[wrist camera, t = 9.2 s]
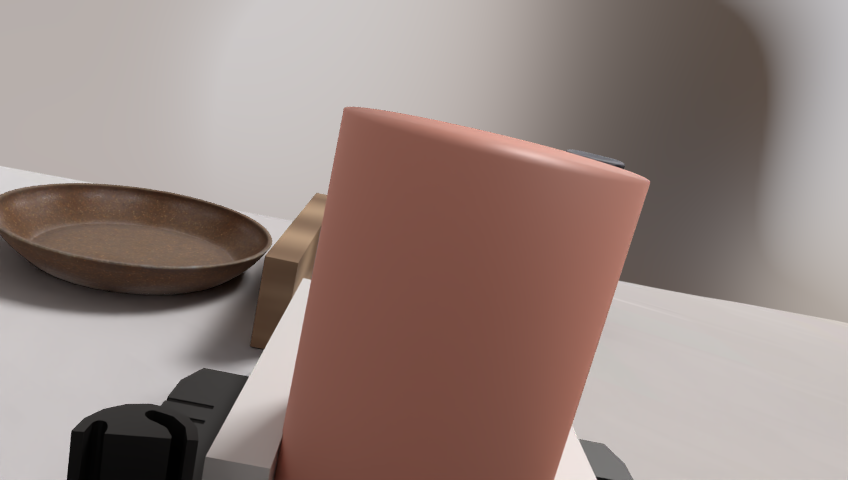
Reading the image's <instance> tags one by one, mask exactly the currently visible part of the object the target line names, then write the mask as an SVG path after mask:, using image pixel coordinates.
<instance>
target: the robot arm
mask: <svg viewBox="0 0 848 480" xmlns="http://www.w3.org/2000/svg"><path fill="white" fill-rule="evenodd" d="M310 284H311V280H310V279H305V278H303V280H302V281H301V283H300V285H299V287H298V289H297V290H296V292H295V294H294V296H293V298H292V300H291V301H290V303H289V305H288V307H287V309H286V311H285V312H284V314H283V316H282V318H281V320H280V321H279V323H278V325H277V327H276V329H275V331H274V332H273V334H272V336H271V338H270V340H269V342H268V343H267V345H266V347H265V349H264V351H263V353H262V354H261V356H260V358H259V360H258V362H257V363H256V365H255V367H254V369H253V371H252V373H251V374H250V376H249V377H247V376H242V375H237V374H232V373H227V372H222V371H217V370H211V369H206V368H203V369H201V370H199V371H197V372H195V373H193V374H191V375H190V376H188V377H186V378H184V379H182V380H180V382H179V383H178V384H177V386H176V387H175V388H174V389H173V391H172V392H171V393H170V395H169V396H168V398H167V401H164V403H163V404H162V405H161V406H158V405H153V404H125V405H120V406H116V407H111V408H106V409H103V410H101V411H98V412H96V413H94V414H92V415H90V416H88V417H86V418H84V419H83V420H82V421H81V422H80V423H79V424H78V425H77V426H76V427H75V428H74V429H73V430H72V432H71V442H70V453H69V464H68V474H67V480H274V477H275V472H276V467H277V462H278V456H279V451H280V446H281V441H282V435H283V425H284V420H285V415H286V409H287V404H288V399H289V394H290V388H291V383H292V378H293V373H294V368H295V362H296V357H297V352H298V347H299V341H300V336H301V331H302V326H303V320H304V315H305V310H306V305H307V299H308V294H309V289H310ZM554 480H633V478H632V476H631V475H630V473H629V471H628V469H627V467H626V465H625V464H624V463H623V462H622V461H621V460H620V459H619V458H618V457H617V456H616V455H615V454H614V453H613V452H612V451H611V450H610V449H609V448H608V447H607V446H606V445H604V444H601V443H596V442H591V441H586V440H581V439H578V437H577V435H576V433H575V431H574V428H573V426H571V429H570V432H569V435H568V438H567V441H566V444H565V448H564V451H563V454H562V457H561V460H560V463H559V466H558V469H557V472H556V475H555V478H554Z"/></svg>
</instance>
